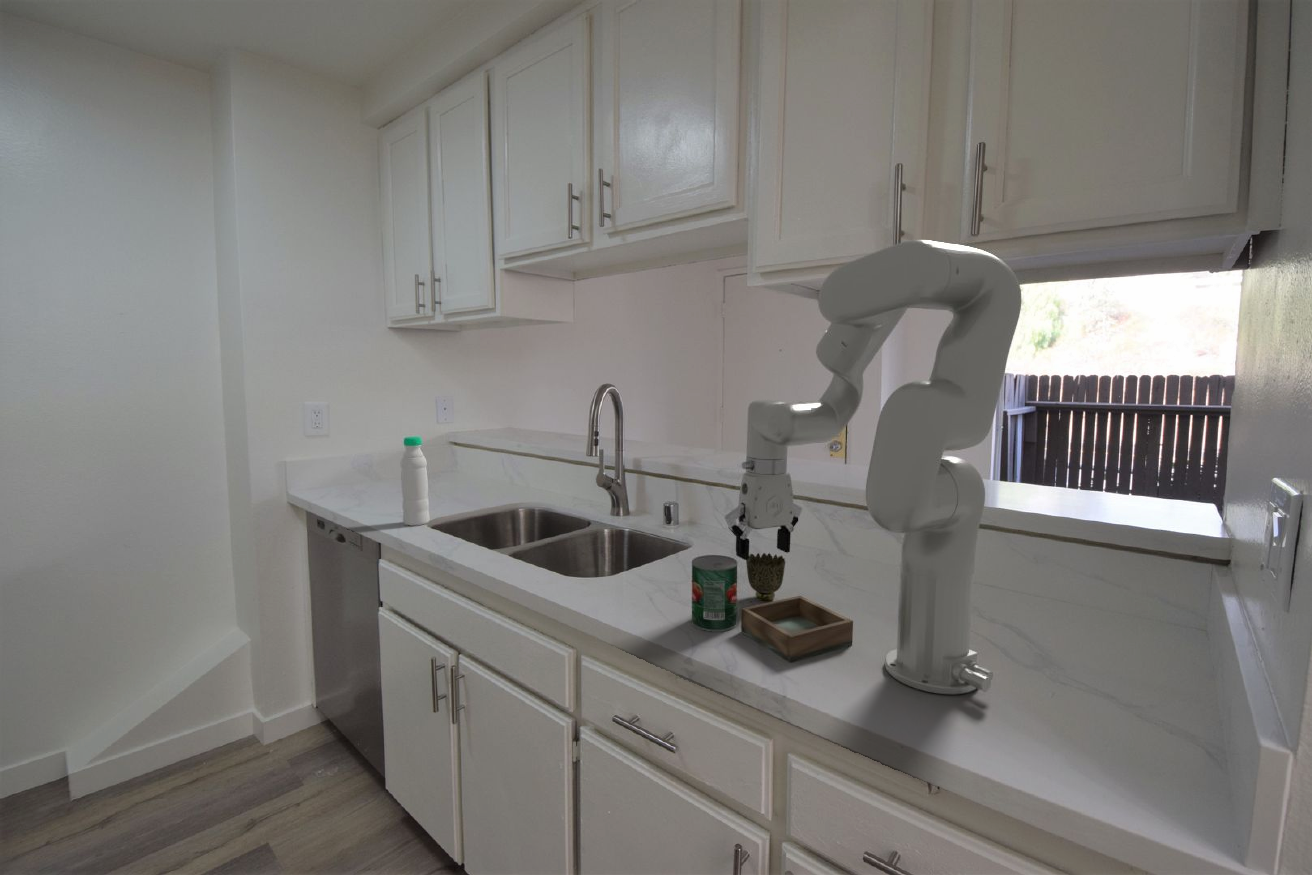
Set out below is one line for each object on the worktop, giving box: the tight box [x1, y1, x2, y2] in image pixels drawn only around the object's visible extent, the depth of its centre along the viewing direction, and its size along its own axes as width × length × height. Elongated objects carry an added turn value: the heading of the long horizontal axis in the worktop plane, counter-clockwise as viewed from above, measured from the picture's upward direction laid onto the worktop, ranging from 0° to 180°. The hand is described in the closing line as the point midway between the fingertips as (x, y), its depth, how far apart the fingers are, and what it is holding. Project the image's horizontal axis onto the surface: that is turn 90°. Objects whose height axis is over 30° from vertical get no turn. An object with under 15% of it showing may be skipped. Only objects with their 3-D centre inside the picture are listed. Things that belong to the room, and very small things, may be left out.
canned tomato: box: [691, 554, 739, 633], centre depth 107 cm, size 8×8×11 cm
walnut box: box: [740, 595, 854, 663], centre depth 101 cm, size 13×13×4 cm
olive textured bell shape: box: [745, 552, 786, 602], centre depth 119 cm, size 8×7×8 cm
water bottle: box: [400, 436, 431, 527], centre depth 178 cm, size 7×7×25 cm
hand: (763, 554), depth 119 cm, fingers open, 9 cm apart
